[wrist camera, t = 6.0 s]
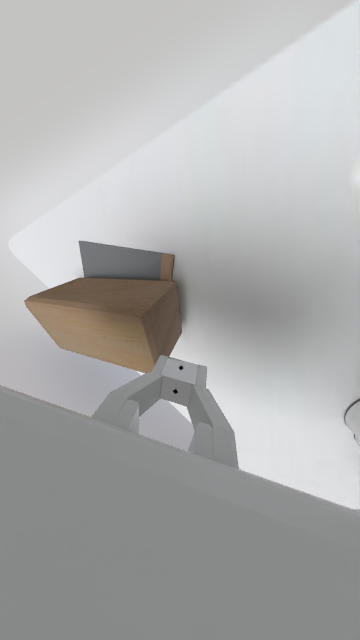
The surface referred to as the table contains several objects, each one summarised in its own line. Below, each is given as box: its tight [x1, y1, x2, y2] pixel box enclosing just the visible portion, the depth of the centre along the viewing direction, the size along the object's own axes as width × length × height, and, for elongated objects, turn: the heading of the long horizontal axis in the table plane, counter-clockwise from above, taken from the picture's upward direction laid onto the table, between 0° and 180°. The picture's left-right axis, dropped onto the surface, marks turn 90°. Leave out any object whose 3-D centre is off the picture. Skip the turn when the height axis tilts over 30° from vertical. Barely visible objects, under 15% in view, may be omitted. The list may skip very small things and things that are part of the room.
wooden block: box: [24, 278, 182, 373], centre depth 22 cm, size 10×10×20 cm
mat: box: [79, 241, 174, 281], centre depth 26 cm, size 18×13×2 cm
